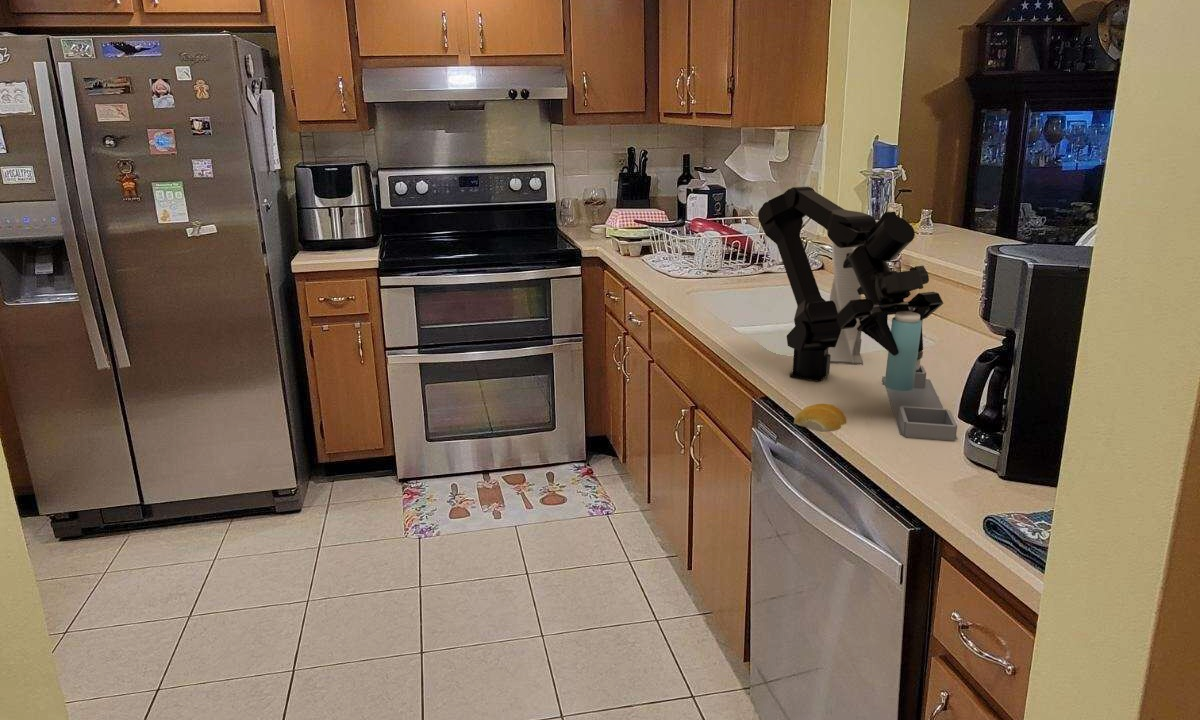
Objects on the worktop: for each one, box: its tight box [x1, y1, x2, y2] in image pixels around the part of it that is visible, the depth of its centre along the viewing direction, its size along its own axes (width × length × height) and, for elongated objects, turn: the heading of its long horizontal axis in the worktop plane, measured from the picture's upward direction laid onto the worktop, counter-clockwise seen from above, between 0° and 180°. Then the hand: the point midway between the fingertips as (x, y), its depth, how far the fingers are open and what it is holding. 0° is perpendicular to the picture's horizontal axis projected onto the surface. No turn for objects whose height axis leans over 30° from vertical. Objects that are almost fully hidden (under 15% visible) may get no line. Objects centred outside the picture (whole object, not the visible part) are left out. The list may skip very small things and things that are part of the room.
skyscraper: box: [828, 241, 864, 366], centre depth 177 cm, size 8×8×28 cm
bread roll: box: [793, 403, 848, 432], centre depth 144 cm, size 8×9×4 cm
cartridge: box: [883, 311, 923, 391], centre depth 143 cm, size 5×5×13 cm
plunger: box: [916, 350, 924, 372], centre depth 162 cm, size 4×4×6 cm
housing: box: [881, 364, 958, 442], centre depth 151 cm, size 32×9×4 cm, turn 167°
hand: (908, 352), depth 142 cm, fingers closed on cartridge, 5 cm apart
